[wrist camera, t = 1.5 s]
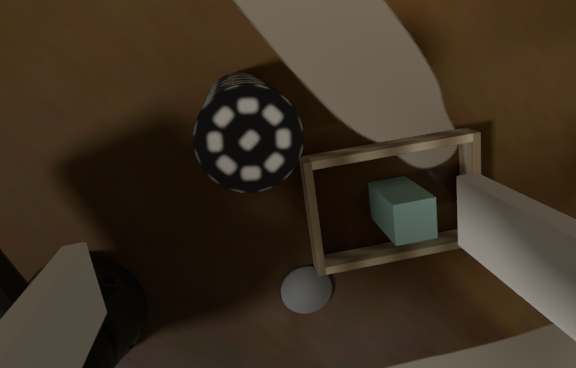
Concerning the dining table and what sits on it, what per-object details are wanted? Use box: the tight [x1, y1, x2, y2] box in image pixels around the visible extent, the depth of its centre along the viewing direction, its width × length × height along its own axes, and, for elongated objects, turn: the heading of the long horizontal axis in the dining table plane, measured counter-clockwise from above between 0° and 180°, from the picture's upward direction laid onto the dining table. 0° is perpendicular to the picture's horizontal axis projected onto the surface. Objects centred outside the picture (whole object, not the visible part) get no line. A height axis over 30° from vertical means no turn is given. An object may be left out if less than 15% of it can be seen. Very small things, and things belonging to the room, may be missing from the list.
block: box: [368, 176, 438, 246], centre depth 54 cm, size 5×5×9 cm
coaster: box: [281, 265, 332, 314], centre depth 60 cm, size 7×7×1 cm
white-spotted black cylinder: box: [193, 72, 304, 193], centre depth 43 cm, size 8×8×20 cm
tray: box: [299, 128, 481, 276], centre depth 56 cm, size 22×15×4 cm
